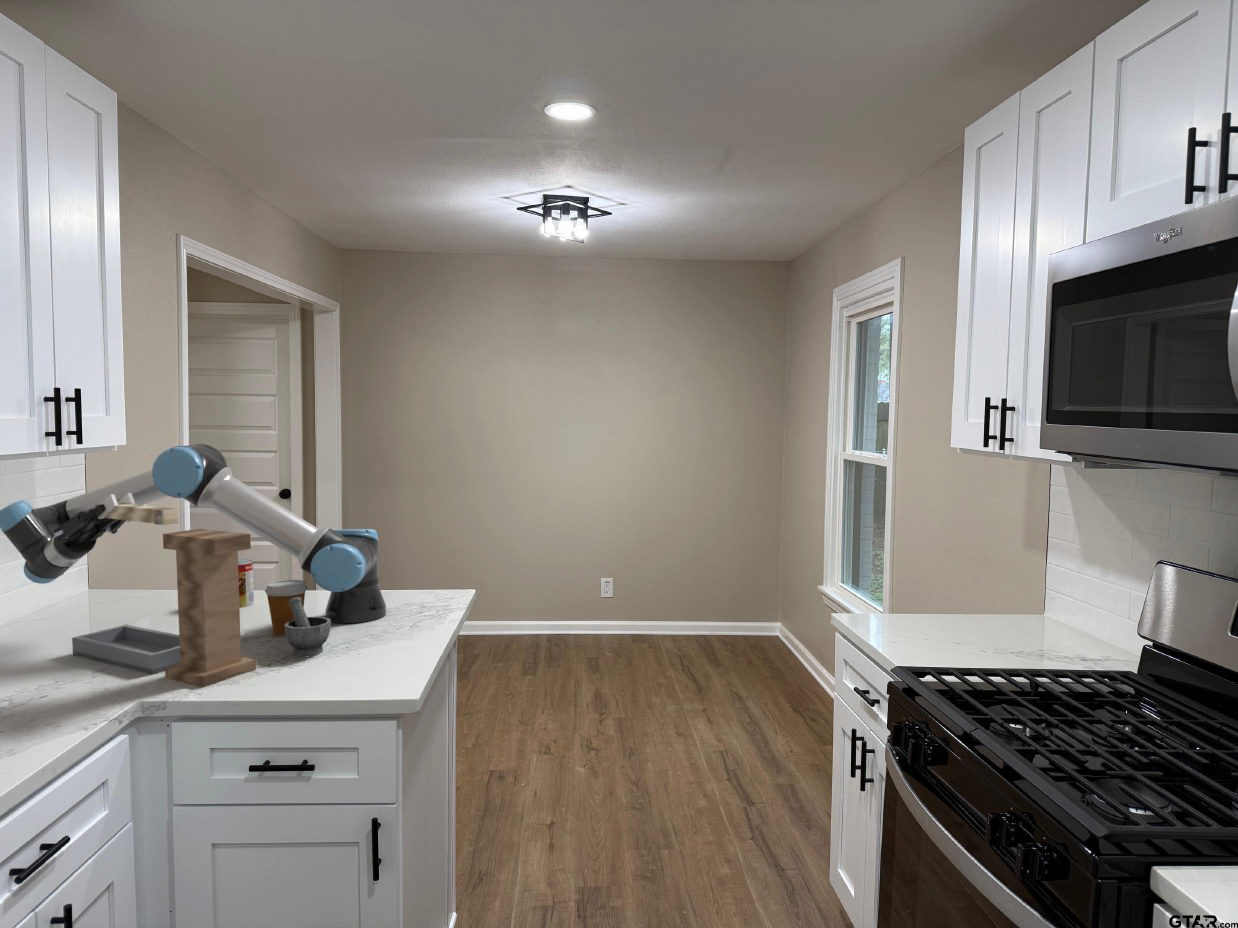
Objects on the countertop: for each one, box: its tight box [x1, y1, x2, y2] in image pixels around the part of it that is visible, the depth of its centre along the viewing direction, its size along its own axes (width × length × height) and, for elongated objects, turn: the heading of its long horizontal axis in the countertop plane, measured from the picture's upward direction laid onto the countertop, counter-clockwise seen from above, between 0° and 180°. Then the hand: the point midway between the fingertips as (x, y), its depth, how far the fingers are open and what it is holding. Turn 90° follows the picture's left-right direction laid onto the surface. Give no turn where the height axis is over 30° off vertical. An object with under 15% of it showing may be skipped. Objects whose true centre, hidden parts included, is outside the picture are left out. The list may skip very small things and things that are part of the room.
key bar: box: [95, 503, 179, 526], centre depth 175 cm, size 24×4×3 cm, turn 63°
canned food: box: [238, 558, 255, 609], centre depth 224 cm, size 8×8×12 cm
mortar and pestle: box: [284, 597, 332, 657], centre depth 181 cm, size 11×9×12 cm
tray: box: [71, 624, 180, 675], centre depth 177 cm, size 28×12×4 cm, turn 63°
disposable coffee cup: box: [264, 579, 308, 636], centre depth 197 cm, size 10×10×12 cm
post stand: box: [162, 528, 257, 688], centre depth 166 cm, size 16×12×29 cm
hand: (123, 499), depth 176 cm, fingers closed on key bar, 3 cm apart
